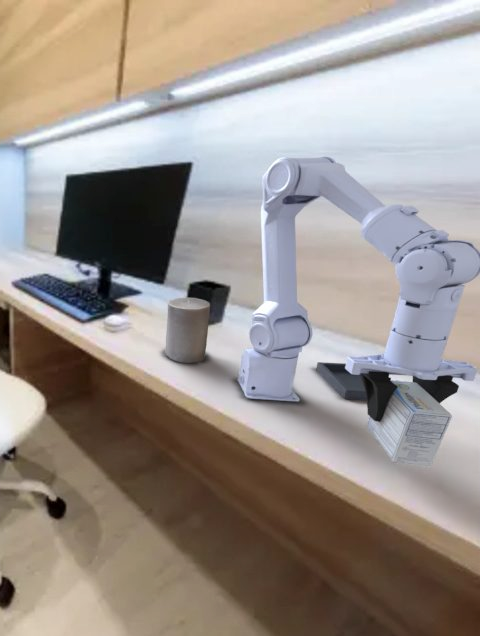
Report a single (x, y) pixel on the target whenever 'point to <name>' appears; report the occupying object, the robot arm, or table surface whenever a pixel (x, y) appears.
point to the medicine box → (411, 425)
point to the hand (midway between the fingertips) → (393, 419)
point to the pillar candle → (187, 329)
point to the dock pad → (342, 380)
